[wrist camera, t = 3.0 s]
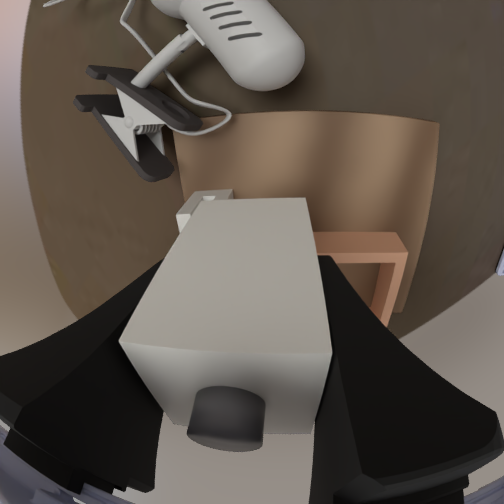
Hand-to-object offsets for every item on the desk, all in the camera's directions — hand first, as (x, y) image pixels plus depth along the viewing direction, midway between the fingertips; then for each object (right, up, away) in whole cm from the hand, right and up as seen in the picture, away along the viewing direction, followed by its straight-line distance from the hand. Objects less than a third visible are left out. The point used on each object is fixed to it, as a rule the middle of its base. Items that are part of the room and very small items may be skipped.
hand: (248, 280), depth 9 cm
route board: (+4, +3, +9) cm, 10 cm away
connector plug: (0, +1, +2) cm, 3 cm away
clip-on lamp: (-6, +15, +3) cm, 17 cm away
